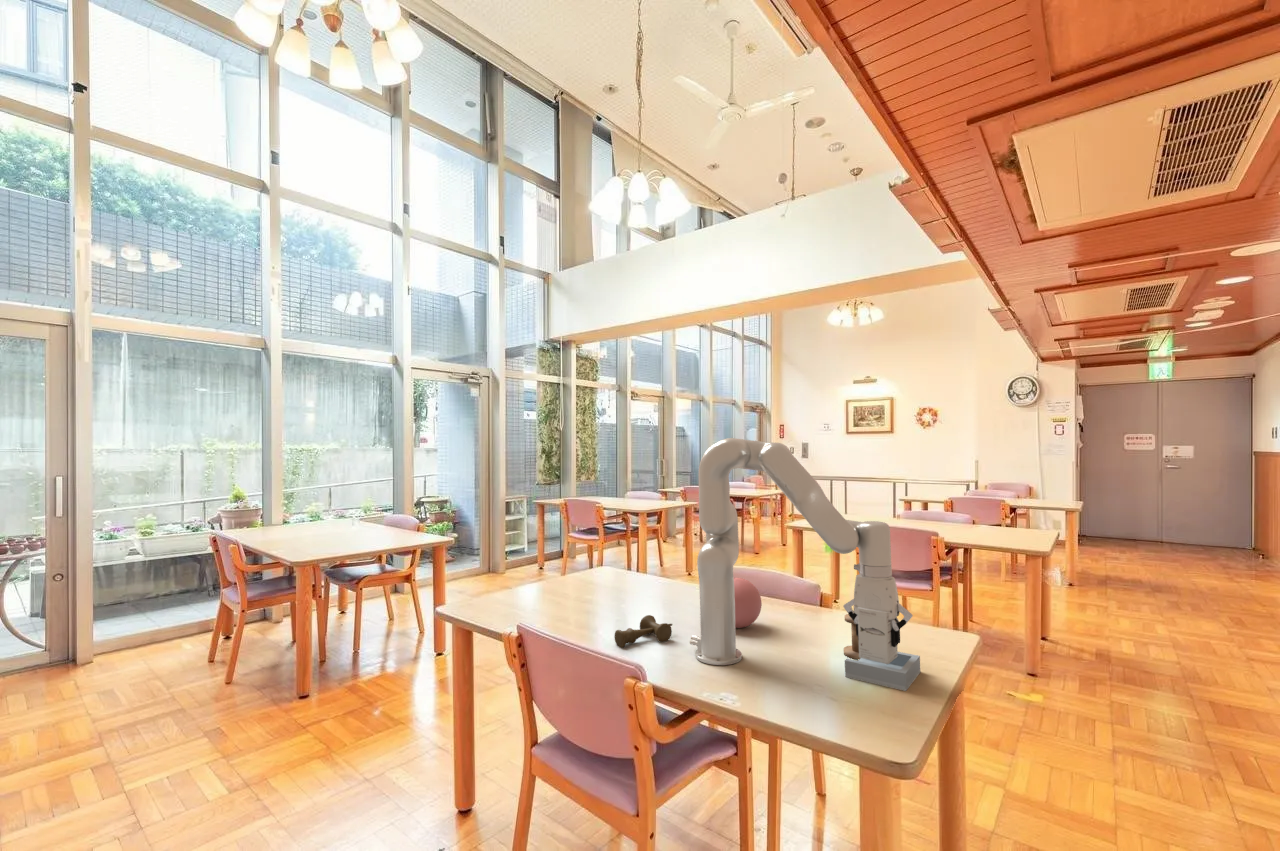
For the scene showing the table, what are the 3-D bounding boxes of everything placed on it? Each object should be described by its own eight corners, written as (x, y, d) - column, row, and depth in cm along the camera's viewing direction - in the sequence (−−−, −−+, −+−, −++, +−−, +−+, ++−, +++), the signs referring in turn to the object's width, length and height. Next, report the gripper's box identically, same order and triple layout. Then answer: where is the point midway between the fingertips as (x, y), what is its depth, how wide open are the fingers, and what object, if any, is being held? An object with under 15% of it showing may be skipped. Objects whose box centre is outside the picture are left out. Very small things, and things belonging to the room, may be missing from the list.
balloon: (727, 613, 196) (726, 568, 197) (772, 628, 180) (771, 578, 180) (693, 622, 187) (692, 575, 188) (737, 638, 171) (736, 586, 171)
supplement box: (858, 658, 143) (856, 607, 143) (869, 650, 148) (867, 601, 149) (888, 665, 138) (886, 612, 138) (899, 656, 143) (897, 605, 144)
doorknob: (839, 656, 155) (838, 618, 155) (849, 647, 161) (848, 611, 162) (869, 662, 150) (868, 623, 150) (878, 653, 156) (877, 616, 157)
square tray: (845, 676, 141) (844, 660, 141) (863, 659, 152) (862, 644, 152) (905, 691, 132) (905, 673, 132) (920, 672, 143) (919, 655, 143)
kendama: (609, 644, 169) (663, 629, 180) (626, 655, 161) (682, 638, 172) (608, 624, 169) (662, 610, 180) (626, 633, 161) (681, 618, 172)
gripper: (835, 569, 146) (838, 639, 146) (908, 578, 135) (911, 653, 135) (845, 564, 152) (848, 631, 151) (916, 572, 141) (919, 644, 141)
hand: (878, 641), depth 143 cm, fingers closed on supplement box, 7 cm apart
